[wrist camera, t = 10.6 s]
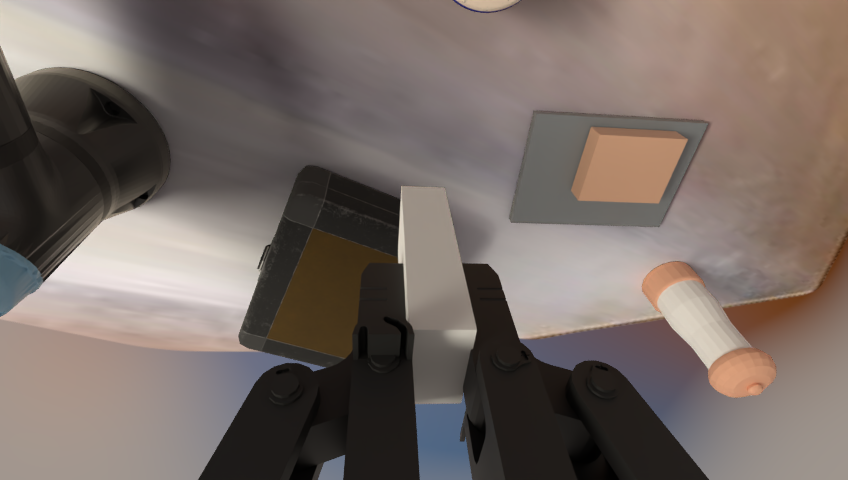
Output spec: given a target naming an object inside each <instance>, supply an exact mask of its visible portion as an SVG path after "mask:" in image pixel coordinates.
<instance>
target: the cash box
mask: <svg viewBox="0 0 848 480" xmlns="http://www.w3.org/2000/svg"><path fill="white" fill-rule="evenodd" d="M400 203H401V200H400V199H398V198H395V197H393V196H390V195H388V194H385V193H383V192H380V191H378V190H375V189H373V188H370V187H368V186H365V185H363V184H360V183H358V182H355V181H353V180H350V179H348V178H345V177H342V176H340V175H337V174H335V173H332V172H330V171H327V170H325V169H322V168H320V167H316V166H306V167H305V168H304V169H303V170H302V171H301V172H300V173H298V175H297V178H296V181H295V183H294V186H293V189H292V191H291V194H290V197H289V199H288V202H287V205H286V207H285V210H284V213H283V215H282V218H281V221H280V223H279V226H278V229H277V232H276V234H275V237H274V238H273V240H272V243H271V244H270V245H267V246H266V247H265V249H264V252H263V255H262V257H261V260H260V262H259V265H258V268H257V269H259V271H260V270H261V273H260V275H259V278H258V283H257V286H256V289H255V291H254V294H253V297H252V300H251V302H250V305H249V308H248V310H247V313H246V316H245V319H244V321H243V324H242V327H241V330H240V332H239V341H240V344H241V345H243V346H245V347H247V348H249V349H253V350H258V351H261V352H265V353H270V354H274V355H278V356H282V357H286V358H290V359H294V360H298V361H302V362H307V363H310V364H314V365H319V366H322V367H326V368H328V367H331V366H333V365H336V364H338V363H339V362H341V361H343V360H344V359H345V358H346V357H347V356H348V355H349V354H350V353H351V352H352V350H353V346H352V334H353V331H354V328H355V325H356V324H357V323H358V310H359V297H360V285H361V274H362V272H363V271H364V270H365V268H366V267H367V265H368V264H369V263H398V239H399V221H400Z"/></svg>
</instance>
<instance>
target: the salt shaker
mask: <svg viewBox="0 0 848 480" xmlns="http://www.w3.org/2000/svg"><path fill="white" fill-rule="evenodd" d="M642 291H643V292H644V294H645V295H646V297H647V298H648V299H649V301H650V302H651V304H652V305H653V306H654V308H655V309H656V310H657V311H659V312H660V313H662V314H663V315H664V317H665V318H666V320H667V321H668V323H669V324H670V325H671V327H672V328H673V329H674V330H675V331H676V332H677V333H678V334H679V335H680V336H681V337H682V338H683V339H684V340H685V341H686V342H687V343H688V344H689V345H690V346H691V347H692V348H693V349H694V351H695V352H696V353H697V355H698V356H699V357H700V359H701V360H702V361H703V363H704V364H705V365H706V367H707V368H708V369H709V370H708V378H709V381H710V384H711V385H712V387H713V388H714V389H716V390H717V391H718V392H720V393H722V394H724V395H727V396H729V397H735V398H737V397H745V396H750V395H759V394H760V393H762V392H763V390H764V389H765V388H766V387H767V386H768V385H770V384H771V383H772V382H773V380H774V379H775V377H776V365H775V363H774V362H773V359H772V357H771V356H770V355H768V354H766V353H765V352H763V351H761V350H759V349H756V348H752V346H751V345H750V344H749V343H748V342H747V340H746V339H745V338H744V337H743V336H742V335H741V334H740V332H739V331H738V330H737V329H736V328H735V327H734V326H733V325H732V323H731V322H730V320H729V318H728V317H727V315H726V313H725V312H724V310H723V309H722V307H721V305H720V304H719V302H718V301H717V299H716V298H715V297H714V296H713V295H712V294H711V293H710V292H709V291H708V290H707V289H706V288H705V284H704V282H703V280H702V279H701V278H700V277H699V276H698V275H697V274H696V273H695V272H694V271H693V269H692V268H691V267H690V266H689V265H687V264H686V263H683V262H678V261H677V262H669V263H666V264H662V265H660V266H658V267H657V268H655V269H653V270H652V271H651V272H650V273H649V274H648V275H647V276H646V278H645V279H644V281H643V284H642Z"/></svg>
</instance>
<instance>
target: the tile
mask: <svg viewBox="0 0 848 480" xmlns="http://www.w3.org/2000/svg"><path fill="white" fill-rule="evenodd" d="M687 141H688V139H687V138H685V137H684V136H682V135H681V134H679V133H678V132H676V131H662V130H644V129H626V128H608V127H591V128H590V132H589V135H588V138H587V141H586V144H585V147H584V151H583V154H582V157H581V160H580V163H579V166H578V170H577V173H576V176H575V179H574V182H573V185H572V189H571V191H572V193H573V194H574V196H575V197H576V198H577V200H578V201H603V202H631V203H658V204H659V202H660V199H661V197H662V195H663V193H664V191H665V189H666V186H667V184H668V182H669V180H670V178H671V176H672V173H673V171H674V169H675V167H676V165H677V162H678V160H679V158H680V156H681V154H682V152H683V149H684V147H685V145H686V143H687Z"/></svg>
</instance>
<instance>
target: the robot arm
mask: <svg viewBox="0 0 848 480" xmlns="http://www.w3.org/2000/svg"><path fill="white" fill-rule="evenodd" d="M169 169H170V153H169V148H168V144H167V141H166V139H165V136H164V134H163V132H162V130H161V128H160V127H159V125H158V123H157V122H156V120H155V119H154V118H153V116H152V115H151V114H150V113H149V111H148V110H147V109H146V108H145V107H144V106H143V105H142V104H141V103H140V102H139V101H138V100H137V99H135V98H134V97H133V96H132V95H131V94H129V93H128V92H127V91H125V90H124V89H122V88H121V87H119V86H118V85H116V84H114V83H112V82H111V81H109V80H107V79H104V78H102V77H100V76H98V75H95V74H92V73H89V72H86V71H82V70H78V69H72V68H61V67H56V68H45V69H41V70H37V71H34V72H32V73H29V74H27V75H24V76H21V77H19V78H17V79H15V80H14V78H13V75H12V73H11V71H10V68H9V66H8V63H7V61H6V58H5V56H4V54H3V51H2V49H1V46H0V317H1V316H3V315H4V314H6V313H7V312H9V311H10V310H11V309H12V308H13V307H14V306H16V305H17V304H18V303H19V302H20V301H21V300H23V299H24V298H25V297H26V296H27V295H29V294H31V293H33V292H35V291H36V290H37V289H39V287H40V286H41V285H42V283H43V282H44V281H45V280H46V279H47V278H48V277H49V276H50V275H51V274H52V273H53V272H54V271H55V270H56V269H57V268H58V266H59V265H60V264H61V263H62V262H63V261H64V260H65V259H66V258H67V257H68V256H69V255H70V254H71V253H72V252H73V251H74V250H75V249H76V248H77V247H78V246H79V245H80V243H81V242H82V241H83V240H84V239H85V238H86V237H87V236H88V235H89V234H90V233H91V232H92V231H93V230H94V229H95V228H96V227H97V226H98V225H99V224H100V223H101V222H102V221H103V220H106V219H108V218H111V217H114V216H116V215H119V214H122V213H124V212H127V211H130V210H132V209H135V208H137V207H139V206H141V205H143V204H144V203H146V202H147V201H148V200H150V199H151V198H152V197H153V196H154V194H155V193H156V192H157V191H158V190H159V189H160V188H161V187H162V185H163V184H164V182H165V181H166V179H167V176H168V173H169ZM352 346H353V350H352V352H351V353H350V354H349V355H348V356H347V357H346V358H345V359H344V360H343V361H341V362H339V363H338V364H336V365H333V366H331V367H328V368H324V369H321V370H317V371H314V372H313V371H312V370H311V369H310V368H309V367H307V366H304V365H302V364H298V363H285V364H282V365H278V366H275V367H273V368H271V369H270V370H268V371H266V372H265V373H263V374H262V376H261V377H260V378H259V379H258V381H256V383H255V384H254V386H253V388H252V389H251V391H250V393H249V394H248V396H247V398H246V400H245V401H244V403H243V405H242V407H241V408H240V410H239V411H238V413H237V415H236V416H235V418H234V420H233V422H232V423H231V425H230V427H229V428H228V430H227V432H226V433H225V435H224V437H223V439H222V440H221V442H220V444H219V445H218V447H217V449H216V450H215V452H214V454H213V455H212V457H211V459H210V461H209V462H208V464H207V466H206V467H205V469H204V471H203V472H202V474H201V476H200V478H199V479H198V480H318V477H319V474H320V472H321V469H322V466H323V463H324V462H326V461H329V460H331V459H334V458H337V457H340V456H342V455H345V466H344V478H343V480H420V479H419V478H420V477H419V461H418V445H417V429H416V412H415V404H443V403H444V404H445V403H447V404H448V403H461V401H462V396H463V392H464V397H465V403H466V411H465V416H464V420H463V424H462V428H461V433H460V441H464V440H465V436H466V441H467V447H468V454H469V461H470V466H471V473H472V479H473V480H709V479H708V478H707V477H706V475H705V474H704V473H703V472H702V471H701V469H700V468H699V467H698V466H697V464H696V463H695V462H694V461H693V459H692V458H691V457H690V456H689V454H688V453H687V452H686V451H685V450H684V448H683V447H682V446H681V445H680V444H679V442H678V441H677V440H676V439H675V437H674V436H673V435H672V434H671V433H670V431H669V430H668V429H667V428H666V426H665V425H664V424H663V423H662V421H661V420H660V419H659V418H658V417H657V415H656V414H655V413H654V411H653V410H652V409H651V408H650V407H649V405H648V404H647V403H646V402H645V400H644V399H643V398H642V397H641V396H640V394H639V393H638V392H637V391H636V389H635V388H634V387H633V386H632V384H631V383H630V382H629V381H628V380H627V378H626V377H624V375H622V374H621V373H620V372H619V371H618V370H617V369H615V368H613V367H612V366H610V365H608V364H606V363H602V362H599V361H584V362H581V363H579V364H577V365H576V366H575V368H574V370H573V371H571V370H568V369H564V368H560V367H556V366H553V365H549V364H547V363H544V362H541V361H540V360H538V359H536V358H535V357H534V356H533V354H532V352H531V351H530V350H529V349H528V348H527V347H526V346H525V345H524V344H522V343H521V342H520V340H519V338H518V334H517V331H516V328H515V325H514V322H513V319H512V316H511V313H510V310H509V307H508V304H507V301H506V298H505V295H504V292H503V290H502V285H501V282H500V279H499V276H498V275H497V273H496V272H495V271H494V270H493V269H492V268H491V267H490V266H489V265H488V264H465V263H462V262H461V257H460V253H459V248H458V244H457V240H456V235H455V231H454V226H453V222H452V218H451V213H450V209H449V204H448V200H447V196H446V191H445V188H443V187H417V186H401V203H400V221H399V239H398V263H369V264H368V265H367V267H366V268H365V270H364V271H363V272H362V274H361V285H360V297H359V310H358V323H357V324H356V325H355V328H354V331H353V334H352Z"/></svg>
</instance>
